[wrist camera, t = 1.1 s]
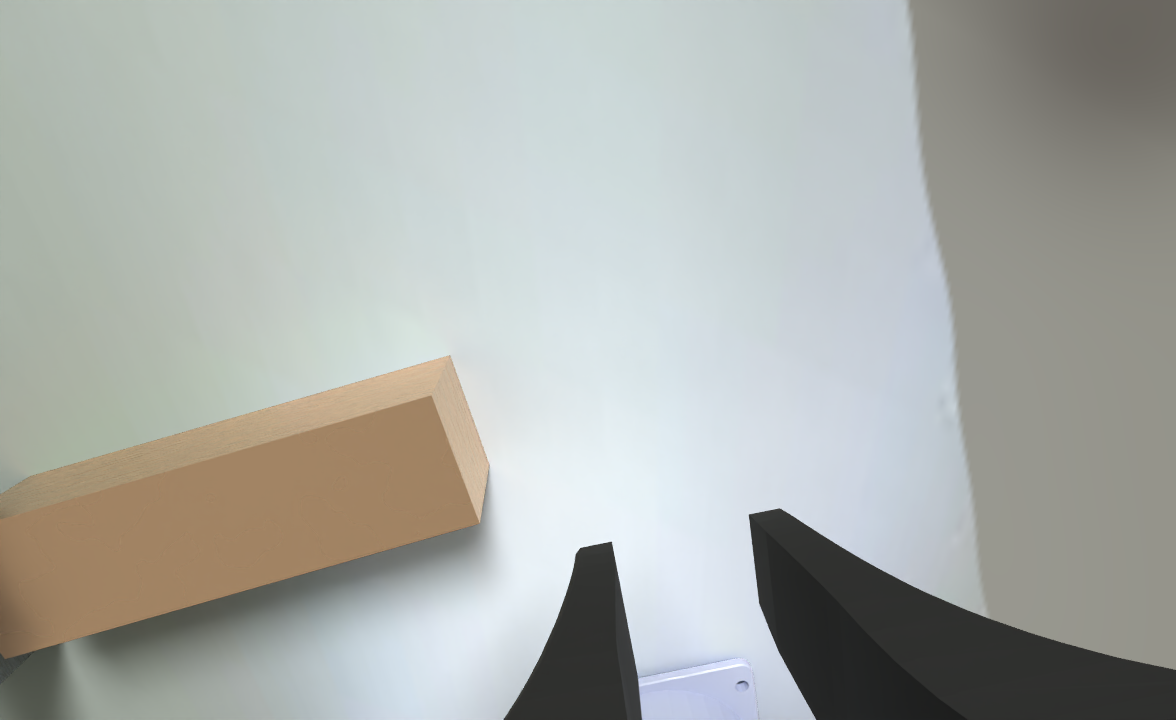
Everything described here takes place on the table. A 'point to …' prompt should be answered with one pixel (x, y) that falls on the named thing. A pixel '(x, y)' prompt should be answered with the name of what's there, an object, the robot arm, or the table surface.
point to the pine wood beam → (238, 505)
